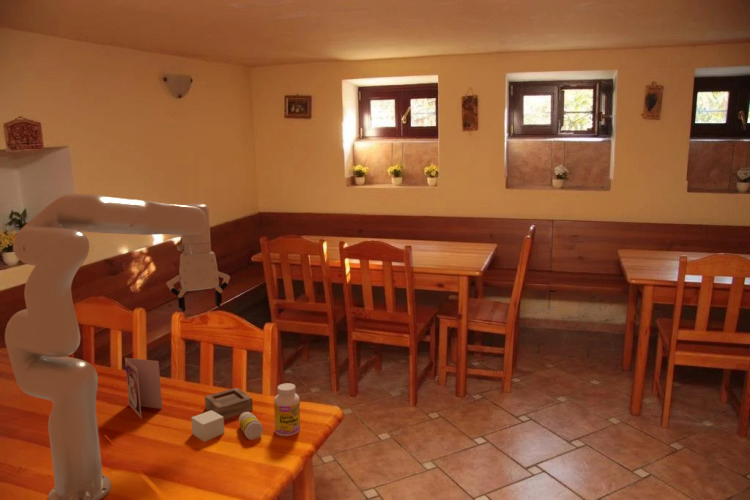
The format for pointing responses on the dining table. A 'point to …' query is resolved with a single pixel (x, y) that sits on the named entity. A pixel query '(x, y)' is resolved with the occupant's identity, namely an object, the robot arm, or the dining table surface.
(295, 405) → the supplement bottle
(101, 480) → the robot arm
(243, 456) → the dining table surface
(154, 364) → the greeting card
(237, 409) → the walnut tray
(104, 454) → the dining table surface
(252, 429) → the supplement bottle
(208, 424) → the beige block
